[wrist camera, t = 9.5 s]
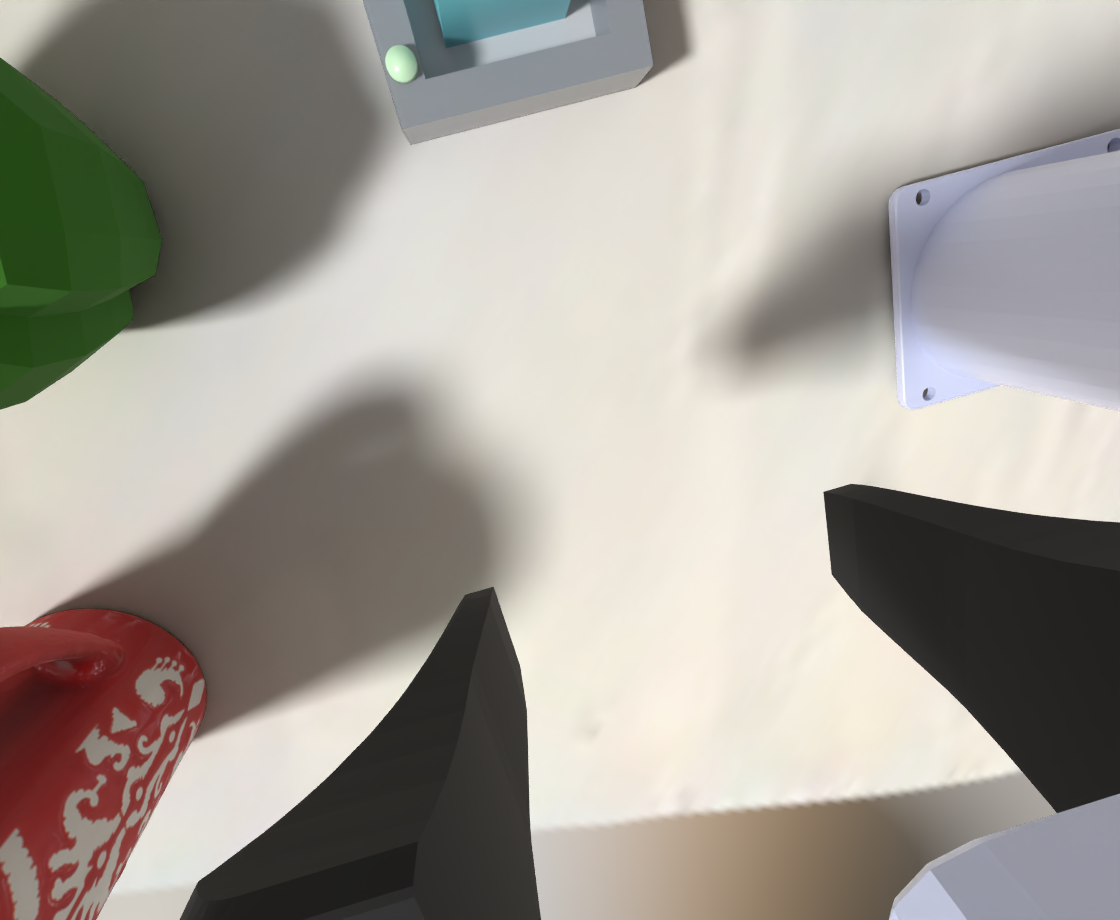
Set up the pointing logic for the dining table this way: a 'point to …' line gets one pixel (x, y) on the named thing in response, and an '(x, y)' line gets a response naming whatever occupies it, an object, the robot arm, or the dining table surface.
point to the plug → (493, 17)
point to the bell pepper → (62, 240)
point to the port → (505, 64)
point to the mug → (85, 753)
